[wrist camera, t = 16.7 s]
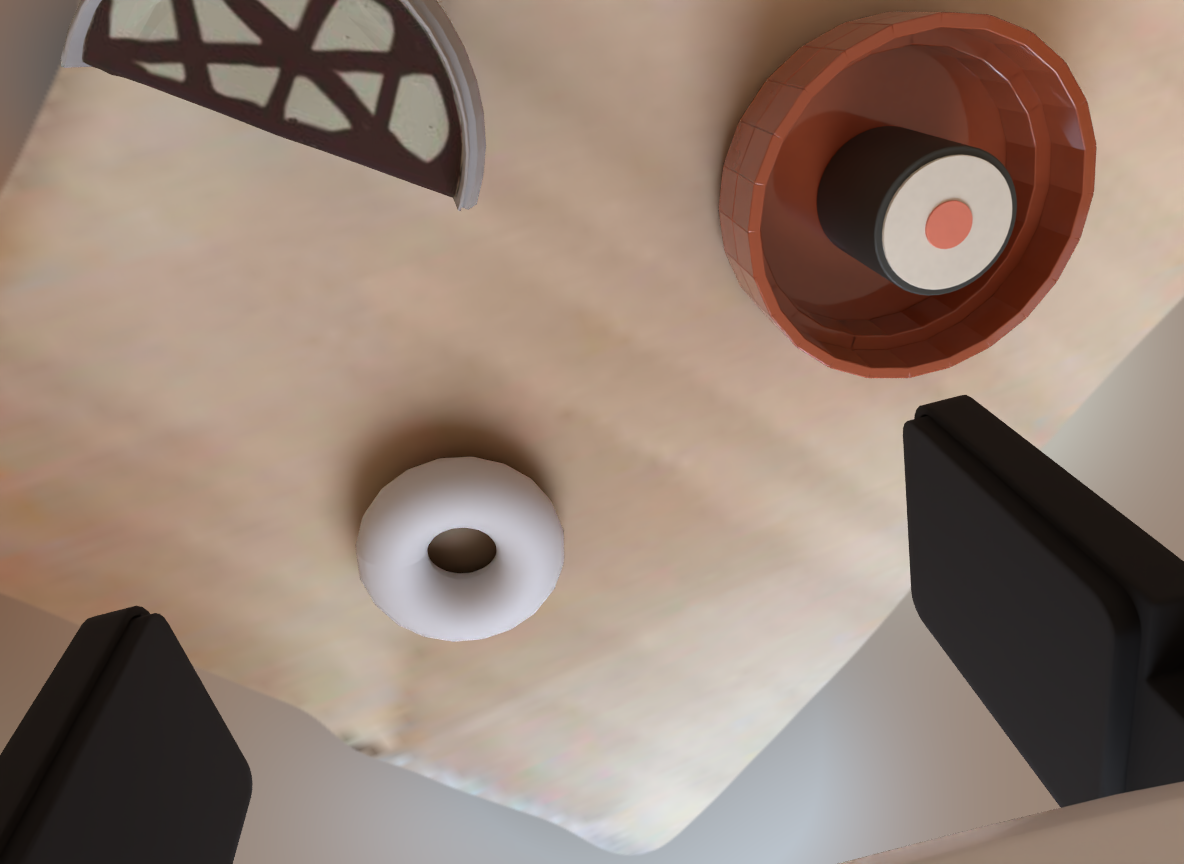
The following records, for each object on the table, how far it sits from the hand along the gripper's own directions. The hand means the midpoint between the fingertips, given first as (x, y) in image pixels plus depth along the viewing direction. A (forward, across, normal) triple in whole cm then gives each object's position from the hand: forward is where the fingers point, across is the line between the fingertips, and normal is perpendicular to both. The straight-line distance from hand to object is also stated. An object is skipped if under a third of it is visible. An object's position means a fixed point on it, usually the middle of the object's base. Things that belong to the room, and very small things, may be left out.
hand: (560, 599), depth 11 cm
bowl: (+28, -16, +4) cm, 33 cm away
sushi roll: (+28, -16, +4) cm, 32 cm away
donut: (+28, +6, +16) cm, 33 cm away
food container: (+28, +4, -7) cm, 30 cm away
